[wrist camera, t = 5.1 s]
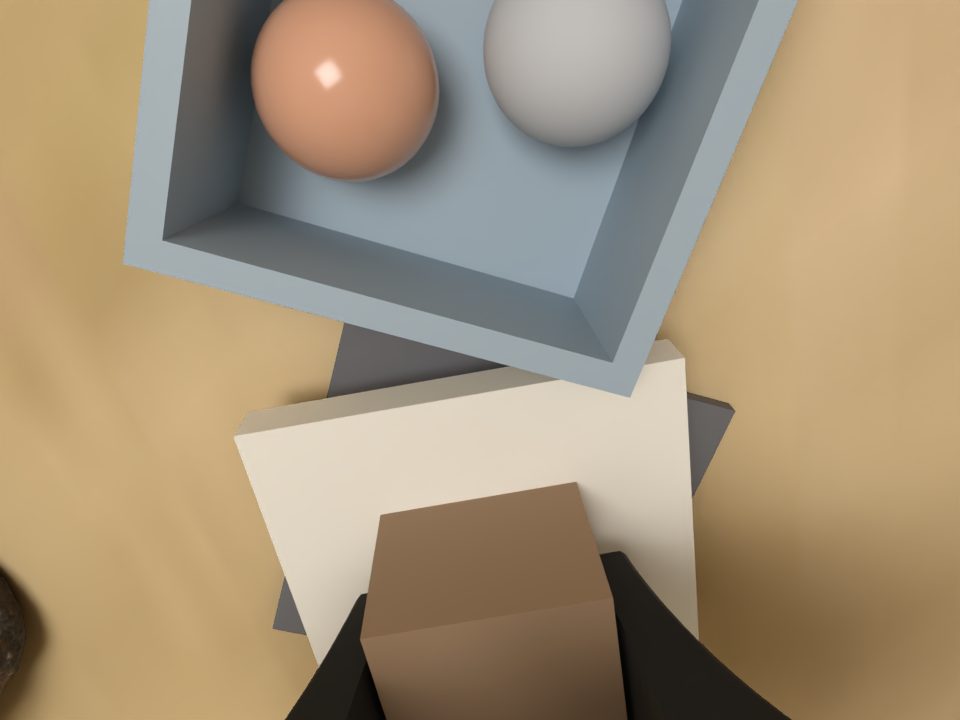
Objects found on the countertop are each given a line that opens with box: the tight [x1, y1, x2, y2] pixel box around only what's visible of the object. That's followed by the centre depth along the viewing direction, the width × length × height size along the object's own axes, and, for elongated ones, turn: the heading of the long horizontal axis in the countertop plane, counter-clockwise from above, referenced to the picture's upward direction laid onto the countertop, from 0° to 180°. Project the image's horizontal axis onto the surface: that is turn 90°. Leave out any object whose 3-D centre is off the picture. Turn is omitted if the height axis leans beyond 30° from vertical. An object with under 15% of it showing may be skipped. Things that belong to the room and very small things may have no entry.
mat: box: [273, 323, 735, 635], centre depth 16 cm, size 9×9×1 cm
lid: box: [233, 339, 699, 720], centre depth 13 cm, size 9×9×4 cm
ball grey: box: [483, 0, 671, 147], centre depth 11 cm, size 3×3×3 cm
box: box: [123, 0, 798, 398], centre depth 10 cm, size 8×8×4 cm
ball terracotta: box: [251, 0, 440, 182], centre depth 11 cm, size 3×3×3 cm
